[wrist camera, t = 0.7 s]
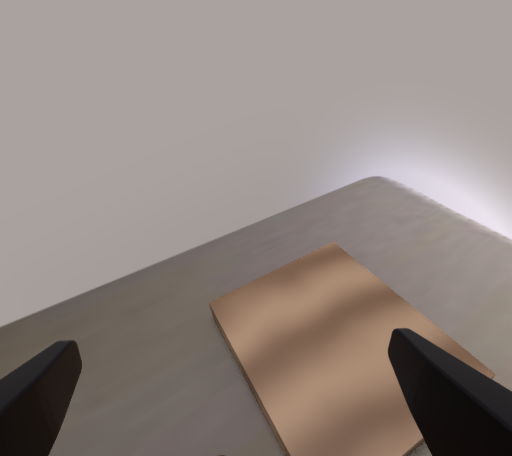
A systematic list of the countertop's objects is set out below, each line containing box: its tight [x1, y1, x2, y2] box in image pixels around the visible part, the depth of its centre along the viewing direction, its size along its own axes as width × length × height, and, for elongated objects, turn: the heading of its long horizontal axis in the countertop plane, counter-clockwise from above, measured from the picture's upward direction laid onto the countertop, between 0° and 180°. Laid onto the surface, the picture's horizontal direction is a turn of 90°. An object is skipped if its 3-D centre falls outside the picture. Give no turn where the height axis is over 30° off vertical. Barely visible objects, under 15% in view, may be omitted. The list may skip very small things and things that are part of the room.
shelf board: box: [209, 242, 496, 456], centre depth 24 cm, size 16×14×2 cm
